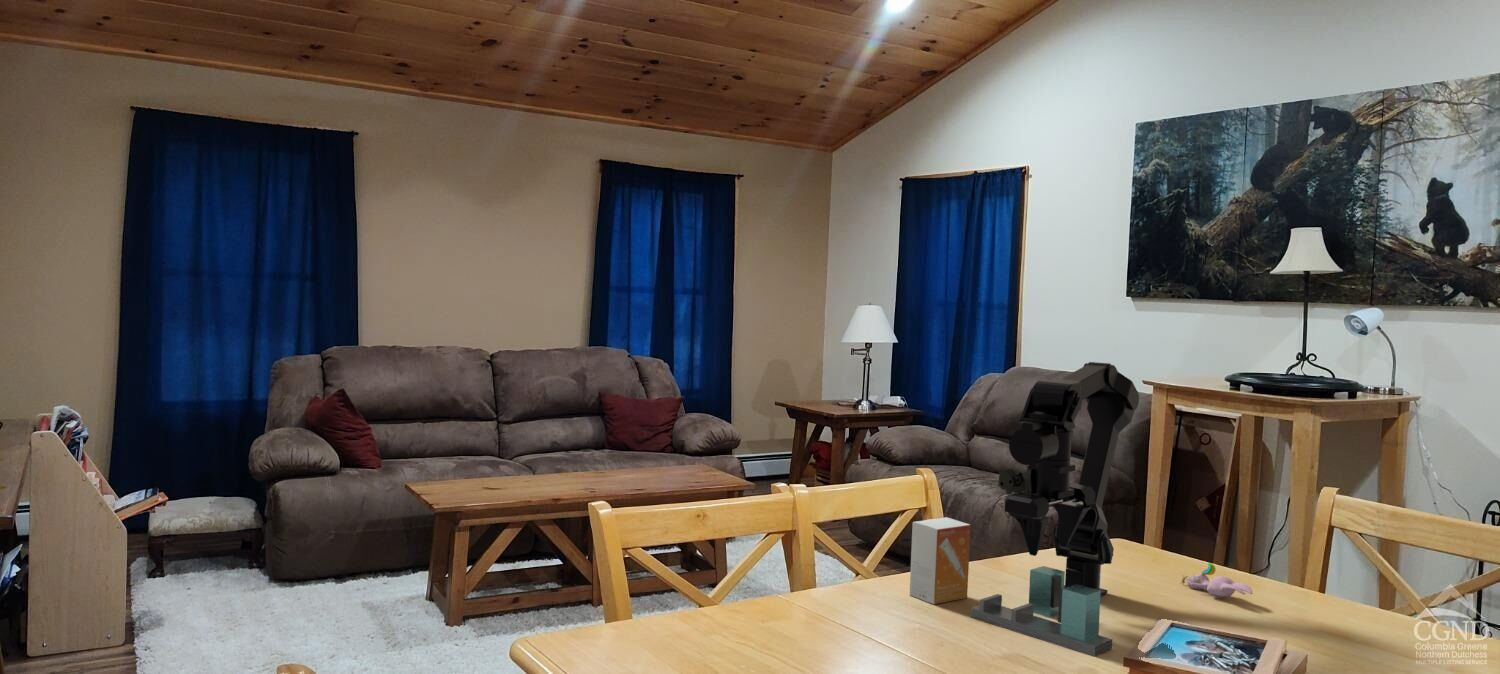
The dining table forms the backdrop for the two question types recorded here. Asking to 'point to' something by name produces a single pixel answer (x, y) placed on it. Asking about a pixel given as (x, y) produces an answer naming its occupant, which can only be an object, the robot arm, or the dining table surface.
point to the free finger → (1045, 590)
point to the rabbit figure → (1215, 584)
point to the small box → (939, 560)
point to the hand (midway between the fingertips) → (1048, 550)
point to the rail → (1073, 614)
